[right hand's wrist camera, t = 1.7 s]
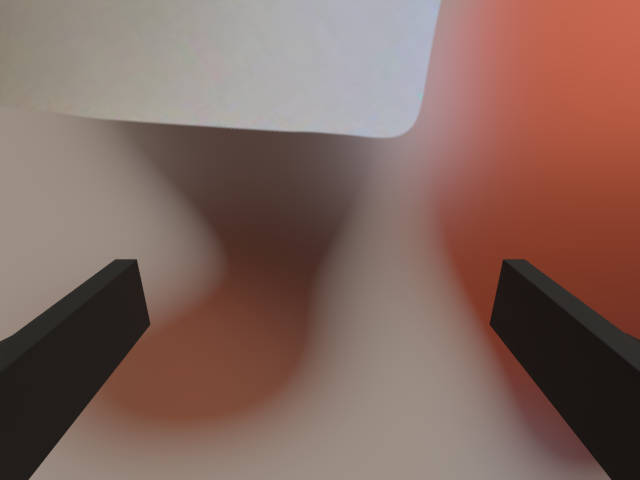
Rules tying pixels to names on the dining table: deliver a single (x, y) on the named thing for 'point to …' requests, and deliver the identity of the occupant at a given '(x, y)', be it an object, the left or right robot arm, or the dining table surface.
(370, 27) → the dining table surface
